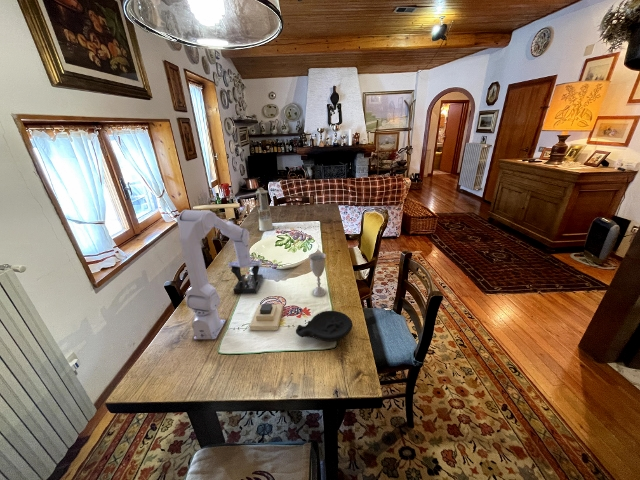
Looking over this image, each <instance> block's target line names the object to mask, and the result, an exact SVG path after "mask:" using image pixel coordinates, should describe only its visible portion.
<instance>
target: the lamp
mask: <svg viewBox="0 0 640 480" xmlns="http://www.w3.org/2000/svg"><path fill="white" fill-rule="evenodd" d="M268 192H269V191H268V190H265V189H264V188H263V187H260V188H257V190H256V191H255V196H256V197H258V200H259V201H258V200H256V205H257V209H256V210H257V212H258V226H259V229H258V230H259V231H261V232H266V231H267V232H269V231H272V230H273V229H274V226H273V225H274V224H273V219H272V214H271V212H270V211H271V208H270V206H269V199H268ZM258 202H259V203H258ZM263 212H264V213H265V215H264V216H261V213H263ZM268 212H269V215H270V216H269V215H268Z"/></svg>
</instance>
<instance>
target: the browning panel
mask: <svg viewBox="0 0 640 480" xmlns="http://www.w3.org/2000/svg"><path fill="white" fill-rule="evenodd" d="M241 276H242V280H241V281H240V282H239V280H237V283H236V284H235V286H234V287H233V294H234V295H248V294H249V295H251V294H253V295H255V294H257V293H258V291H259V289H260V287H261V284H262V282H263V280H264V275H263V274H261V273H260V274H259V273H258V279H257V281H255V280H254V275H253V274H251V280H250V282H249V284H245V280H244V277H245V276H246V274H241Z"/></svg>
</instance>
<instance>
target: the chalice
mask: <svg viewBox="0 0 640 480" xmlns="http://www.w3.org/2000/svg"><path fill="white" fill-rule="evenodd" d="M326 255H327V254H326V253H324V252H321V251H319V252H312V253H310V254H309V255H308V259H309V265H310V266H309V267H310V270H311V272H312V274H313V275H314V277H316V281H317V282H316V285H317V287H315V289H314V291H313V295H314V296H315V297H324V295H325V294H326V291H325V289H324V288H323V287H322V286H321V284H322V283H321V276H322V275H323V273H324V271H325V268H326V260H325V259H326Z"/></svg>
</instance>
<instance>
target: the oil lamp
mask: <svg viewBox="0 0 640 480" xmlns="http://www.w3.org/2000/svg"><path fill="white" fill-rule="evenodd" d="M352 329H353V321H352V319H351V317H349V316H348V315H347V314H346V313H343V312H340V311H337V310H324V311H321V312H319V313H317V314H316V315H314V316H313V317H312V318H311V320H308V321H307V324H306V325H301V324H298V325H297V327H296V329H295V334H296V335H297V336H299V337H300V338H312V339H315V340H316V339H317V340H320V341H323V342H328V343H332V342H337V341H340V340H341V339H343V338H345V337H346V336H347V335H349V333H350V332H351V331H352Z"/></svg>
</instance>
